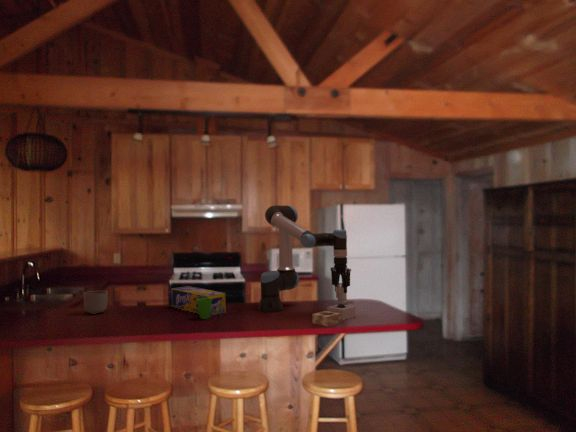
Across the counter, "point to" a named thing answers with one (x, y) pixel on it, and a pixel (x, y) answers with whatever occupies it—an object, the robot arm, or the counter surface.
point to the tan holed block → (343, 311)
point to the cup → (204, 307)
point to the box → (188, 296)
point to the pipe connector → (347, 301)
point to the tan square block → (327, 318)
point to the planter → (95, 301)
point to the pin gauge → (340, 296)
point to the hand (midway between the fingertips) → (341, 298)
